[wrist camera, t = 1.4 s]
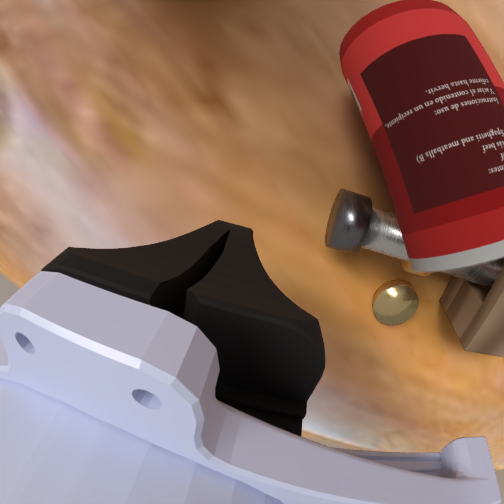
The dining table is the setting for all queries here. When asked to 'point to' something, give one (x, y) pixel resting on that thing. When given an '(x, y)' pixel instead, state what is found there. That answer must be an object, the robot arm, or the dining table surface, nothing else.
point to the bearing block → (477, 314)
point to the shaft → (385, 237)
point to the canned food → (432, 129)
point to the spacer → (394, 302)
